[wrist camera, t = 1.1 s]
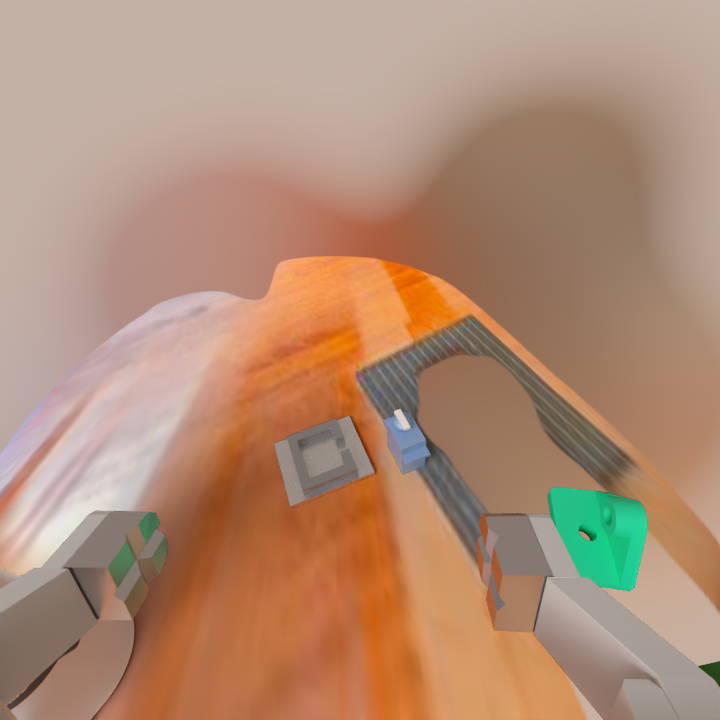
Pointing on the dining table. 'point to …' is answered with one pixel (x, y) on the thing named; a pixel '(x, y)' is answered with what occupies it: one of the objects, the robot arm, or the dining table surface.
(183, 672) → the dining table surface
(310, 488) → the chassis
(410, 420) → the servo
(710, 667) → the hardback book
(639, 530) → the camera mount
